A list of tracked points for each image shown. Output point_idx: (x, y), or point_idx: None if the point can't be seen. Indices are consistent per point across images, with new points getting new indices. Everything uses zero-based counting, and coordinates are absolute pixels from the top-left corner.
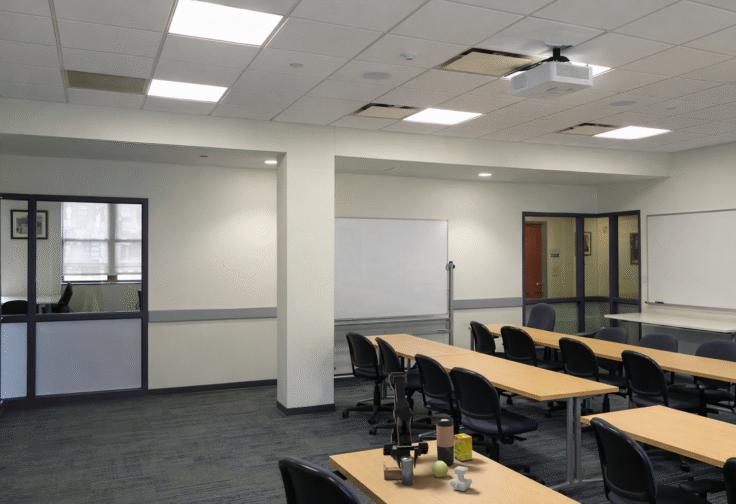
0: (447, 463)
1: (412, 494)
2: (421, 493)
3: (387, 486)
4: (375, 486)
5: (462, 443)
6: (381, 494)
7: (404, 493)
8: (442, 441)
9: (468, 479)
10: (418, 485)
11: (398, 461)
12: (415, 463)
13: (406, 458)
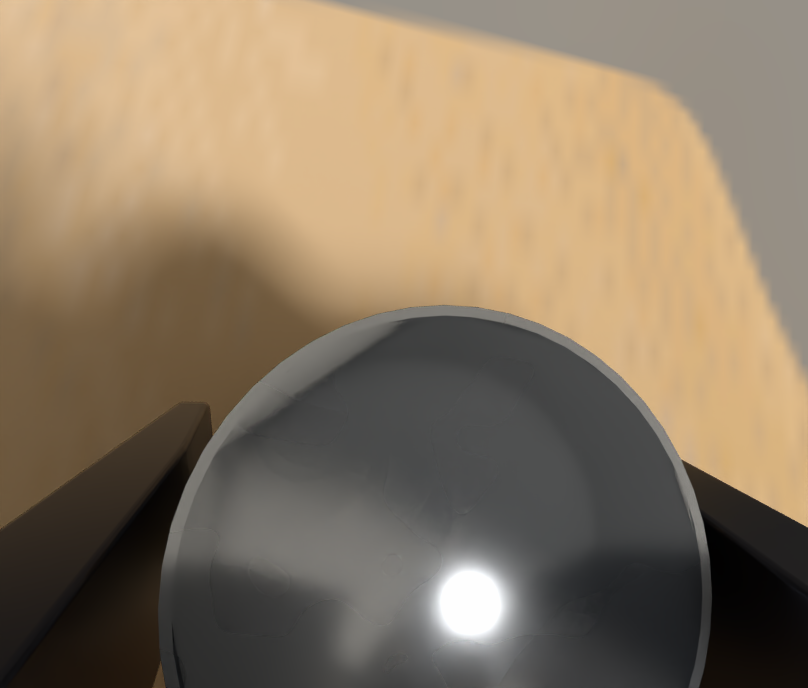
0: None
1: (340, 93)
2: (215, 99)
3: None
4: (769, 418)
5: None
6: (697, 165)
7: (436, 142)
8: None
9: None
10: (199, 383)
11: (711, 486)
12: (136, 449)
13: (488, 460)
